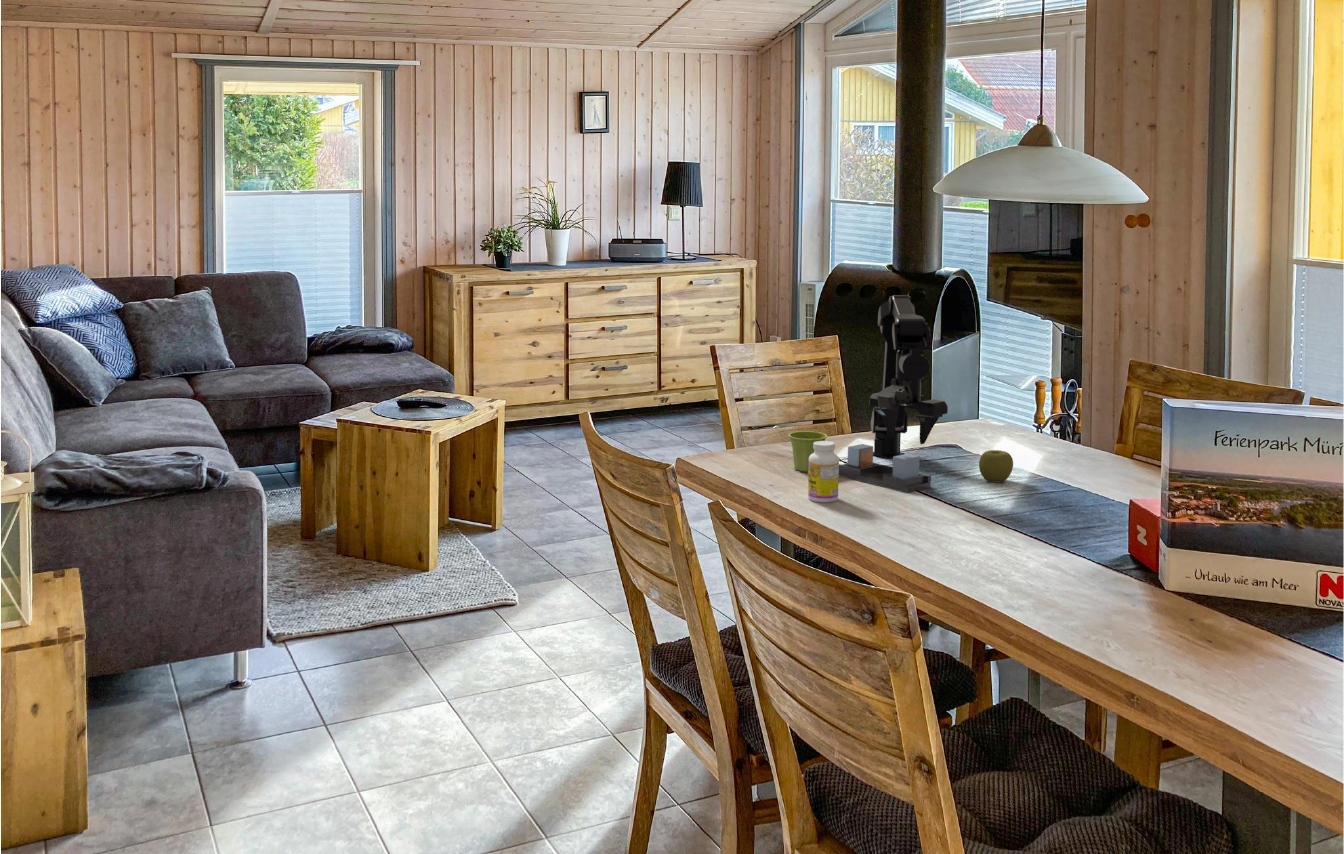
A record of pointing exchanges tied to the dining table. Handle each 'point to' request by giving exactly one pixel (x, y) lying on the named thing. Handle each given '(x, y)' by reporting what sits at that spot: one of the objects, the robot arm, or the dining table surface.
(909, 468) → the block
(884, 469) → the rail
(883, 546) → the dining table surface
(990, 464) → the apple
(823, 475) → the supplement bottle
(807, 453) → the plant pot
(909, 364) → the robot arm
